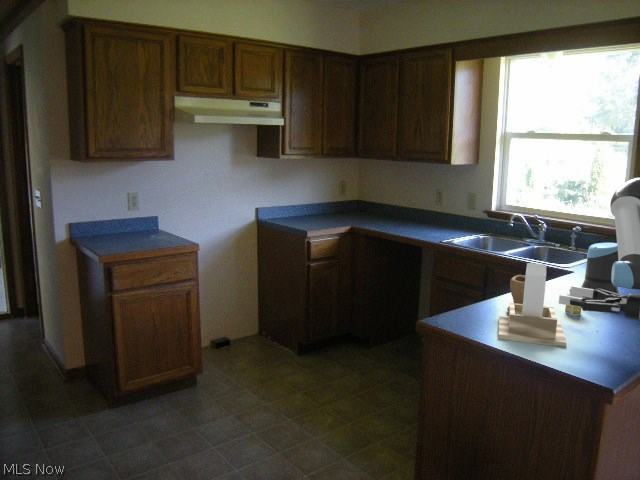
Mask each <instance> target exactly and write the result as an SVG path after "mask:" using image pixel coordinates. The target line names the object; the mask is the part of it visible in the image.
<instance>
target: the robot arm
mask: <svg viewBox="0 0 640 480" xmlns="http://www.w3.org/2000/svg"><path fill="white" fill-rule="evenodd" d="M609 206H610V213H611V215H612V216H613V217H614V222H615V223H614V224H615V235H616V236H615V237H616V242H599V243H593V244H591V245H590V246H589V247H588V249H587V254H586V266H585V274H584V280H583V283H582V285H581V286H576V285H571V287H570V288H571V294H572V295H577V296H583V298H577V297H571V296H567V295H565V294H559V297H558V304H560V305H564V306H566V305H569V306H575V307H580V308H581V311H583V312H584V311H585V312H596V313H597V312H598V313H609V314H616V315H618V314H619V315H620V312H624V317H625V318H626V319H628V320H635V321H640V294H638V293H632V292H630V293H628V295H626V294H625V295H624V294H620V290H619V288H623V289H626V290H627V289H628V290H630V289H632V290H640V177H635V178H632V179H629V180H628V181H626V182H624V183H623V184H621V185H620V186H618V188H617V189H616V190H615V192H614V193H613V194H612V197H611V199H610V205H609Z"/></svg>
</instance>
